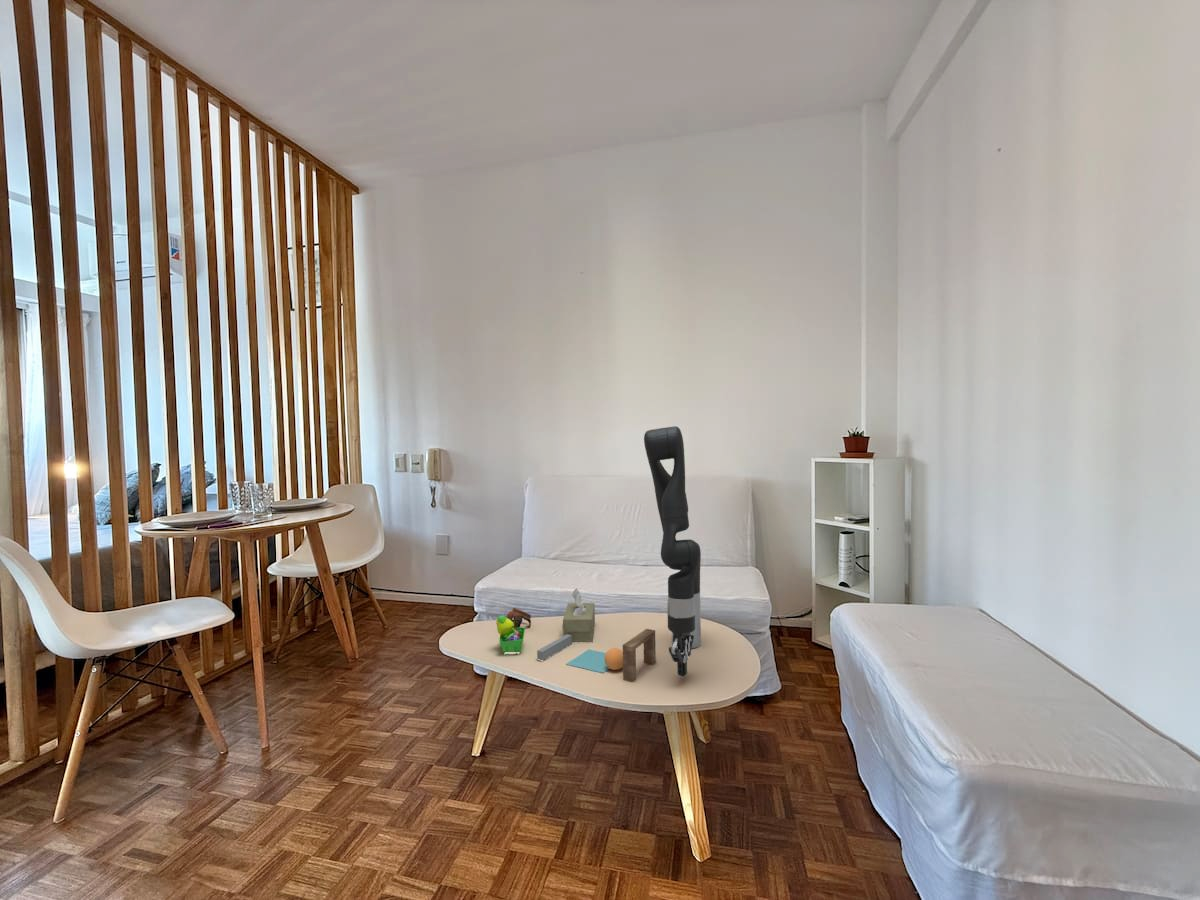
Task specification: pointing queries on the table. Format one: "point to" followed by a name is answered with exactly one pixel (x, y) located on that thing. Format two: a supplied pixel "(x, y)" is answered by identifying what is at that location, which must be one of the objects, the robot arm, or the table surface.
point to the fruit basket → (509, 635)
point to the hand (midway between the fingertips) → (682, 674)
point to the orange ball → (614, 659)
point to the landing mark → (590, 661)
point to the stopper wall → (554, 647)
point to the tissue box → (579, 619)
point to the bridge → (630, 653)
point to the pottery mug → (518, 617)
